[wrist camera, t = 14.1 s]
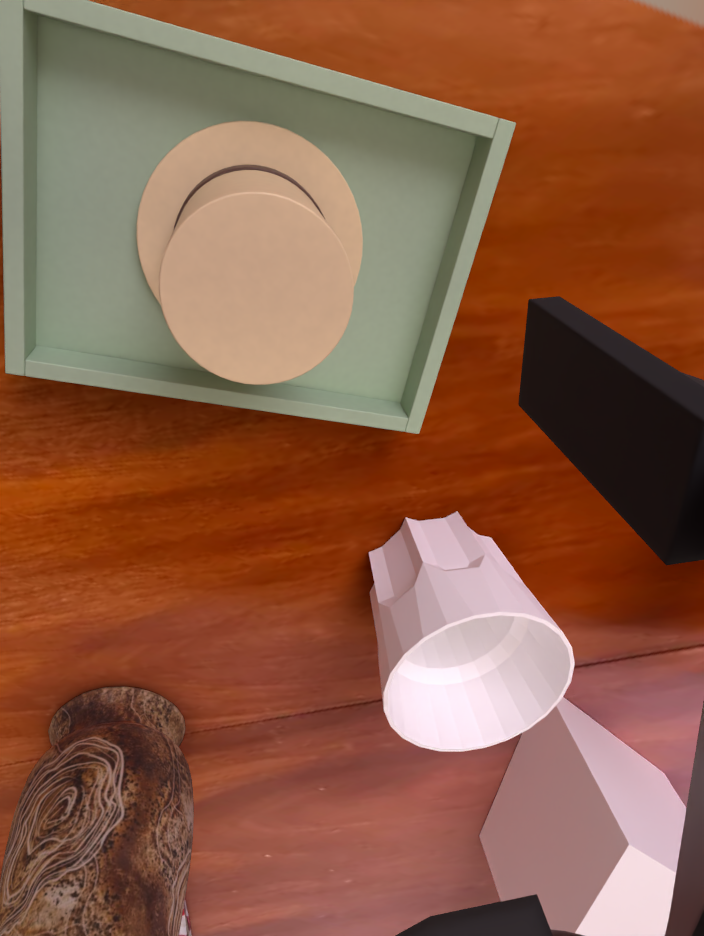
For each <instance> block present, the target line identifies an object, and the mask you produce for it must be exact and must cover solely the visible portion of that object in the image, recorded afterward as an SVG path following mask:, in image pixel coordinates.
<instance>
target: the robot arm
mask: <svg viewBox="0 0 704 936" xmlns="http://www.w3.org/2000/svg"><path fill="white" fill-rule="evenodd" d="M519 406H520V407H521V408H522V409H523V410H524V411H525V412H526V413H527V414H528V415H529V417H530V418H531V419H532V420H533V421H534V422H535V423H536V424H537V425H538V426H539V427H540V429H541V430H542V431H543V432H544V433H545V434H546V435H547V436H548V437H549V438H550V439H551V440H552V442H553V443H554V444H555V445H556V446H557V447H558V448H559V449H560V450H561V451H562V452H563V453H564V455H565V456H566V457H567V458H568V459H569V460H570V461H571V462H572V463H573V464H574V465H575V467H576V468H577V469H578V470H579V471H580V472H581V473H582V474H583V475H584V476H585V477H586V478H587V480H588V481H589V482H590V483H591V484H592V485H593V486H594V487H595V488H596V489H597V490H598V491H599V493H600V494H601V495H602V496H603V497H604V498H605V499H606V500H607V501H608V502H609V503H610V504H611V506H612V507H613V508H614V509H615V510H616V511H617V512H618V513H619V514H620V515H621V516H622V518H623V519H624V520H625V521H626V522H627V523H628V524H629V525H630V526H631V527H632V528H633V529H634V531H635V532H636V533H637V534H638V535H639V536H640V537H641V538H642V539H643V540H644V541H645V542H646V544H647V545H648V546H649V547H650V548H651V549H652V550H653V551H654V552H655V553H656V554H657V556H658V557H659V558H660V559H661V560H662V561H663V562H664V563H665V564H666V565H671V564H678V563H685V562H691V561H698V560H704V381H703V380H702V379H699V378H696V377H693V376H690V375H687V374H684V373H681V372H679V371H678V370H676V369H674V368H673V367H671V366H670V365H668V364H666V363H665V362H663V361H662V360H660V359H659V358H657V357H655V356H654V355H652V354H651V353H649V352H647V351H646V350H644V349H643V348H641V347H639V346H638V345H636V344H635V343H633V342H631V341H630V340H628V339H627V338H625V337H623V336H622V335H620V334H619V333H617V332H615V331H614V330H612V329H611V328H609V327H607V326H606V325H604V324H603V323H601V322H599V321H598V320H596V319H595V318H593V317H591V316H590V315H588V314H587V313H585V312H583V311H582V310H580V309H579V308H577V307H575V306H574V305H572V304H571V303H569V302H567V301H566V300H564V299H563V298H561V297H549V298H538V299H529V302H528V313H527V323H526V333H525V343H524V354H523V364H522V374H521V384H520V395H519ZM396 936H584V935H580V934H576V933H572V932H568V931H561V930H552V929H550V927H549V924H548V922H547V919H546V916H545V914H544V911H543V909H542V906H541V903H540V901H539V898H538V896H537V894H535V895H530V896H525V897H521V898H516V899H511V900H506V901H502V902H497V903H492V904H487V905H482V906H478V907H473V908H468V909H463V910H459V911H454V912H449V913H444V914H440V915H435V916H430V917H428V918H427V919H425V920H423V921H421V922H419V923H418V924H416V925H414V926H412V927H410V928H408V929H407V930H405V931H403V932H401V933H399V934H398V935H396ZM665 936H704V703H703V709H702V715H701V721H700V727H699V734H698V740H697V746H696V752H695V759H694V765H693V771H692V777H691V783H690V790H689V796H688V802H687V808H686V815H685V821H684V827H683V833H682V839H681V846H680V852H679V858H678V864H677V871H676V877H675V883H674V889H673V895H672V902H671V908H670V913H669V919H668V923H667V928H666V932H665Z"/></svg>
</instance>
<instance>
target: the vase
mask: <svg viewBox="0 0 704 936" xmlns="http://www.w3.org/2000/svg"><path fill="white" fill-rule="evenodd" d="M48 732H49V738H50V742H51V745H52V747H51V748H50V749H49V750H48V751H47V752H46V753H45V754H44V755H43V756H42V757H41V758H40V760H39V761H38V762H37V764H36V765H35V766H34V768H33V770H32V772H31V773H30V775H29V777H28V779H27V781H26V784H25V786H24V788H23V791H22V793H21V796H20V798H19V801H18V804H17V807H16V810H15V813H14V817H13V821H12V825H11V829H10V833H9V837H8V842H7V846H6V850H5V856H4V861H3V867H2V874H1V880H0V936H179V932H180V926H181V920H182V914H183V907H184V901H185V894H186V888H187V881H188V875H189V868H190V860H191V850H192V838H193V818H194V804H193V788H192V779H191V774H190V770H189V766H188V763H187V761H186V759H185V757H184V755H183V753H182V752H181V750H180V748H179V746H180V744H181V742H182V740H183V737H184V732H185V720H184V718H183V716H182V714H181V713H180V711H179V710H178V709H177V707H176V706H175V705H174V704H172V703H171V702H169V701H168V700H166V699H165V698H163V697H162V696H160V695H158V694H155V693H153V692H150V691H147V690H144V689H139V688H133V687H106V688H100V689H96V690H92V691H89V692H86V693H83V694H81V695H79V696H77V697H75V698H74V699H72V700H71V701H69V702H68V703H66V704H65V705H64V706H62V707H61V708H60V709H59V710H58V711H57V713H56V714H55V715H54V717H53V718H52V721H51V724H50V728H49V731H48Z"/></svg>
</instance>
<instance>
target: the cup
mask: <svg viewBox="0 0 704 936" xmlns="http://www.w3.org/2000/svg"><path fill="white" fill-rule="evenodd" d="M369 558H370V563H371V568H372V573H373V579H374V585H373V587H372V589H371V590H370V592H369V593H370V599H371V605H372V611H373V617H374V623H375V629H376V635H377V641H378V661H379V670H380V680H381V690H382V699H383V709H384V712H385V714H386V717H387V719H388V722H389V724H390V726H391V727H392V728H393V729H394V730H395V731H396V732H397V733H398V734H399V735H400V736H401V737H402V738H403V739H405V740H407V741H409V742H411V743H413V744H415V745H417V746H419V747H423V748H428V749H432V750H436V751H468V750H474V749H480V748H486V747H489V746H492V745H495V744H498V743H501V742H504V741H507V740H509V739H511V738H513V737H515V736H517V735H519V734H520V733H522V732H524V731H526V730H528V729H530V728H531V727H532V726H534V725H535V724H536V723H538V722H539V721H540V720H542V719H543V718H544V717H545V716H547V715H548V714H549V713H550V711H551V710H552V709H553V708H554V707H555V706H556V705H557V704H558V703H559V701H560V700H561V699H562V697H563V695H564V694H565V692H566V690H567V688H568V686H569V684H570V683H571V679H572V674H573V669H574V665H575V663H574V657H573V651H572V646H571V645H570V643H569V642H568V640H567V638H566V637H565V635H564V634H563V632H562V631H561V629H560V628H559V627H558V626H557V624H556V623H555V622H554V621H553V619H552V618H551V617H550V616H549V614H548V613H547V612H546V610H545V609H544V608H543V607H542V605H541V604H540V603H539V602H538V600H537V599H536V598H535V597H534V595H533V594H532V593H531V592H530V590H529V589H528V588H527V587H526V585H525V584H524V583H523V581H522V580H521V578H520V577H519V575H518V574H517V573H516V571H515V570H514V569H513V567H512V566H511V564H510V563H509V562H508V560H507V559H506V557H505V556H504V555H503V553H502V552H501V551H500V549H499V548H498V546H497V545H496V544H495V542H494V541H493V540H492V538H491V537H487V536H481V535H478V534H477V533H475V532H474V531H473V530H471V529H470V528H469V527H468V526H467V525H466V523H465V522H464V520H463V519H462V517H461V516H460V514H459V513H458V511H457V512H455V513H453V514H451V515H449V516H447V517H445V518H439V519H431V520H422V521H417V520H413V519H409V518H406V517H405V519H404V522H403V524H402V526H401V529H400V530H399V531H398V532H397V533H396V534H395V535H394V536H393V537H392V538H391V539H389V540H388V541H387V542H386V543H385V544H384V545H383V546H382V547H380V548H377V549H375V550H373V551H370V552H369Z"/></svg>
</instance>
